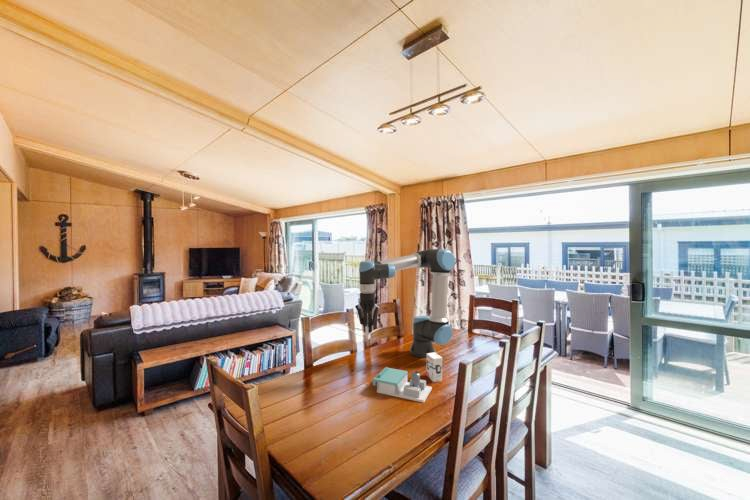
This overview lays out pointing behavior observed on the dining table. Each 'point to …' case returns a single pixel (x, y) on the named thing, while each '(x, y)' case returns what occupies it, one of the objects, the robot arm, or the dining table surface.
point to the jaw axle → (415, 379)
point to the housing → (405, 390)
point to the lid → (390, 376)
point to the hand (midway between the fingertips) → (368, 338)
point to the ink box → (434, 367)
